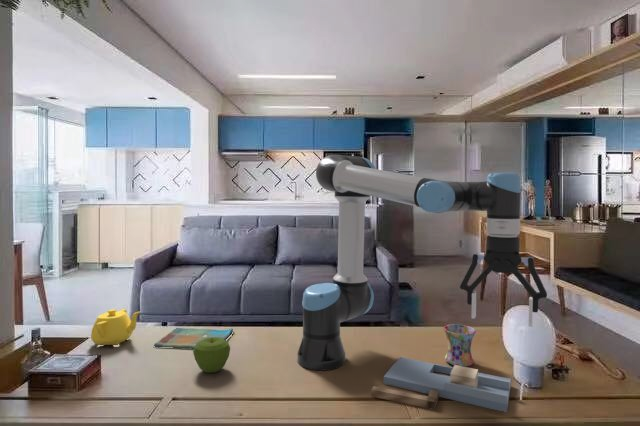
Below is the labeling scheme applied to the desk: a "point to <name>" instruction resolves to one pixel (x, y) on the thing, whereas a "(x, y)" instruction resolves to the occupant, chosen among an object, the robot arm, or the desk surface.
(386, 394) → the crook tool
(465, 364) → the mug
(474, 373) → the block
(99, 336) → the teapot
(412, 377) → the board
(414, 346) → the desk surface
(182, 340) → the colourful book
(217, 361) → the apple
